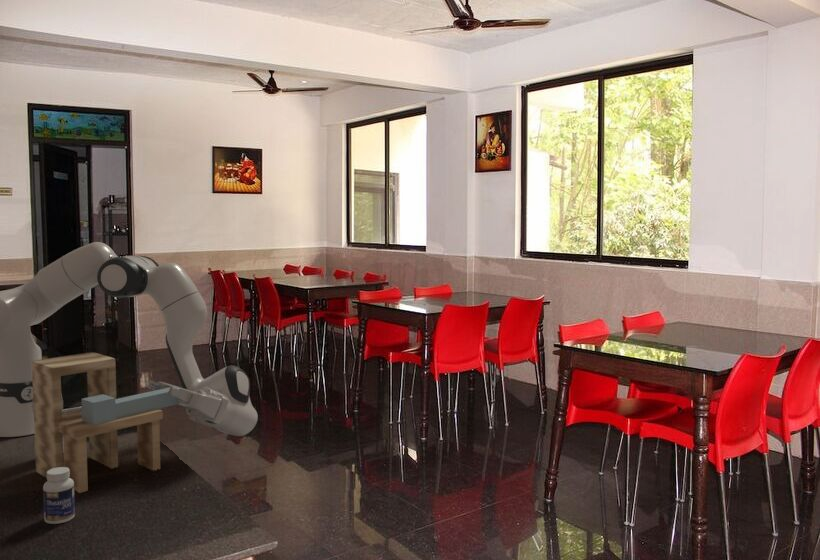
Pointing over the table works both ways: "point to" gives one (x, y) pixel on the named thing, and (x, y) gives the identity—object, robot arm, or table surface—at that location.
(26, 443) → the table surface
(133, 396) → the rail
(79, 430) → the bench
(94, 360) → the tall stand
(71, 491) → the pill bottle
